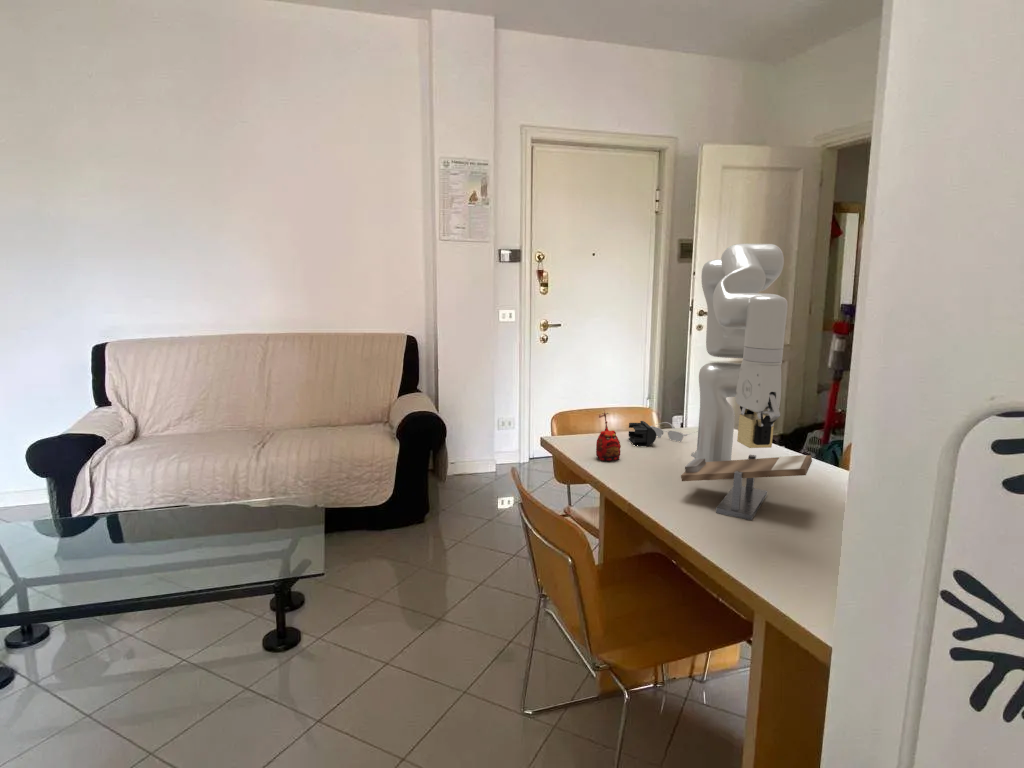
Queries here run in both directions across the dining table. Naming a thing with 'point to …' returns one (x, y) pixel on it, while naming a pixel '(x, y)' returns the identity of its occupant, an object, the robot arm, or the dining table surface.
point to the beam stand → (742, 498)
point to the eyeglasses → (670, 433)
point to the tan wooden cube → (750, 431)
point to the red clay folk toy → (607, 444)
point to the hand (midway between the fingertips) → (754, 439)
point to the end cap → (641, 434)
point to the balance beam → (747, 468)
